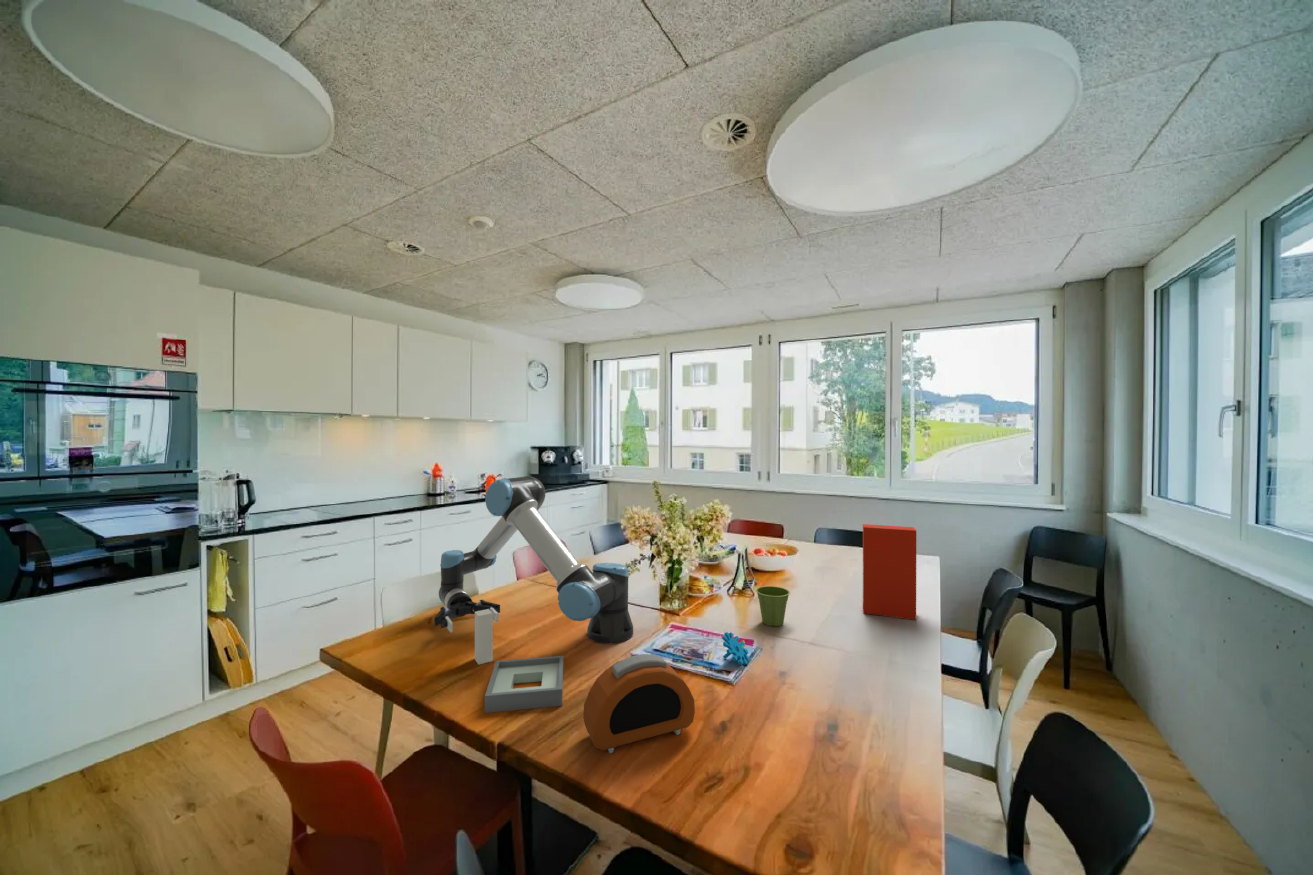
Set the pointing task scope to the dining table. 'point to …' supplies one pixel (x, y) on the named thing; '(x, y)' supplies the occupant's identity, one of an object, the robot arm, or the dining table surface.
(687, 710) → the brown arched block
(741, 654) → the gear
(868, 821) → the dining table surface
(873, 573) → the file binder
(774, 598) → the plant pot
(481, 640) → the peg
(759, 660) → the dining table surface
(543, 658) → the bore box
